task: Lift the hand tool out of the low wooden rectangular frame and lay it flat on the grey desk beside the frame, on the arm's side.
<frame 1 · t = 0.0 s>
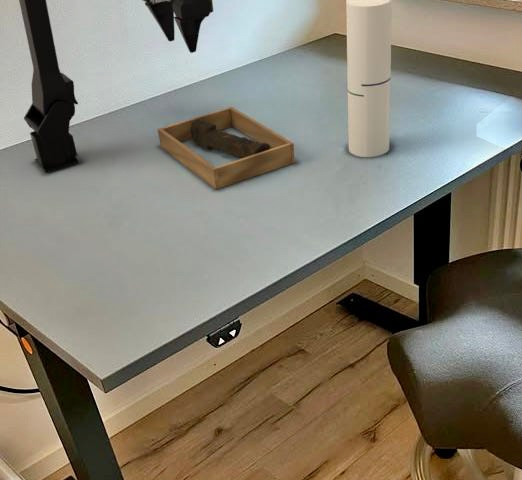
hand: (182, 46, 148), 15 cm above the table, tool pointing down, fingers open, 9 cm apart
hand tool: (225, 155, 144), resting in wooden rectangular frame
wooden rectangular frame: (225, 154, 144), on the table
cylindrical container: (368, 149, 141), on the table
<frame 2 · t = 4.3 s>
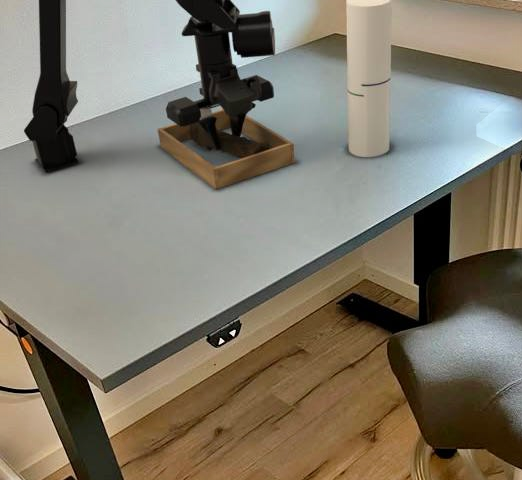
hand: (226, 146, 143), 2 cm above the table, tool pointing down, fingers closed on hand tool, 4 cm apart
hand tool: (225, 155, 144), resting in wooden rectangular frame, touching gripper
everything else where it was.
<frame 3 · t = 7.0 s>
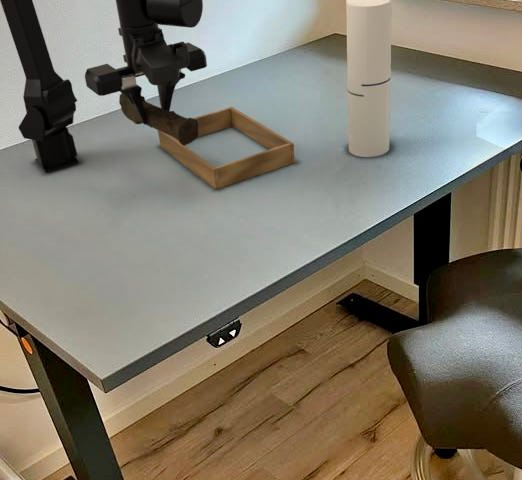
hand: (155, 120, 130), 11 cm above the table, tool pointing down, fingers closed on hand tool, 3 cm apart
hand tool: (154, 131, 131), point 10 cm above the table, touching gripper
everything else where it was.
when the fingers open (1 cm above the table, at t = 9.7 s): hand tool stays where it is, on the table.
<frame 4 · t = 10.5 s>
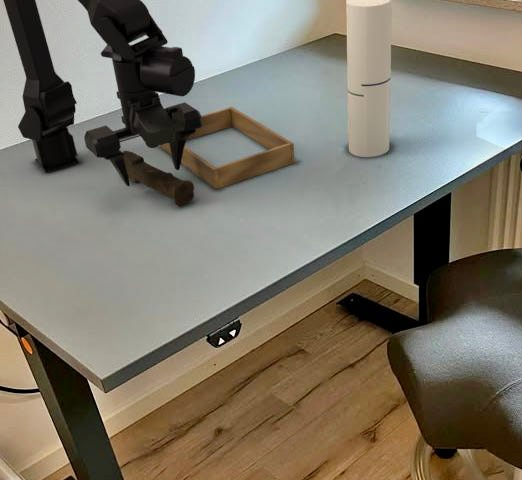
hand: (152, 177, 134), 2 cm above the table, tool pointing down, fingers open, 9 cm apart
hand tool: (152, 190, 136), on the table
everything else where it was.
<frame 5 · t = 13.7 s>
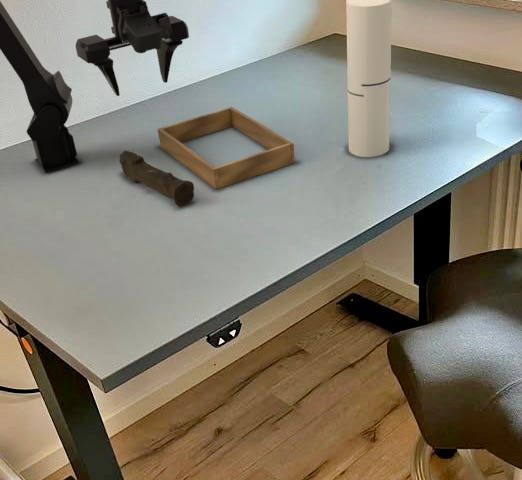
hand: (141, 88, 140), 12 cm above the table, tool pointing down, fingers open, 9 cm apart
nothing on the table moved.
at the end: hand tool inside the target area (0.5 cm from its centre), on the table; hand tool touching table; the gripper is holding nothing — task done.
